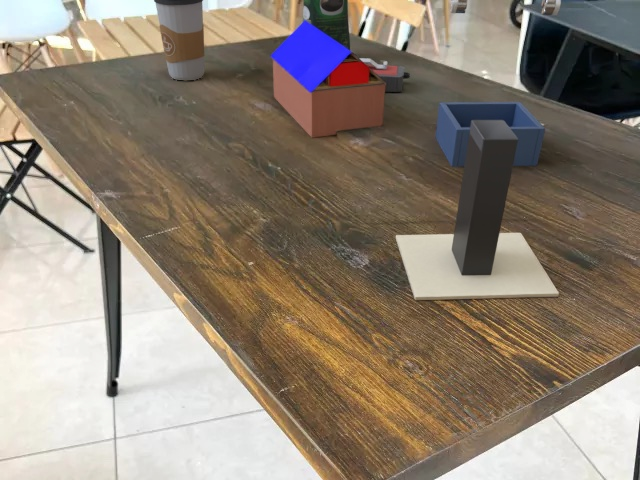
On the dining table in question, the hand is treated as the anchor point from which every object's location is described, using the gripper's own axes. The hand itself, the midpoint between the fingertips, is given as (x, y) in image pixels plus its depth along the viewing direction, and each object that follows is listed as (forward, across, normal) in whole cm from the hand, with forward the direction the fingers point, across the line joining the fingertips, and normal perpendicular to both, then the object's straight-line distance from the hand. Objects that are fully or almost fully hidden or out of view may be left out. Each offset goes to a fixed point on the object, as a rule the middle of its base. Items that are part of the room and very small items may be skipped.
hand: (504, 11), depth 67 cm
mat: (+26, -2, +3) cm, 27 cm away
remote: (+26, -2, +3) cm, 26 cm away
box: (+5, +3, +25) cm, 25 cm away
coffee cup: (-17, -47, +47) cm, 68 cm away
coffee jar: (-27, -23, +57) cm, 67 cm away
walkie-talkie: (-16, -17, +46) cm, 52 cm away
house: (-5, -21, +35) cm, 41 cm away
